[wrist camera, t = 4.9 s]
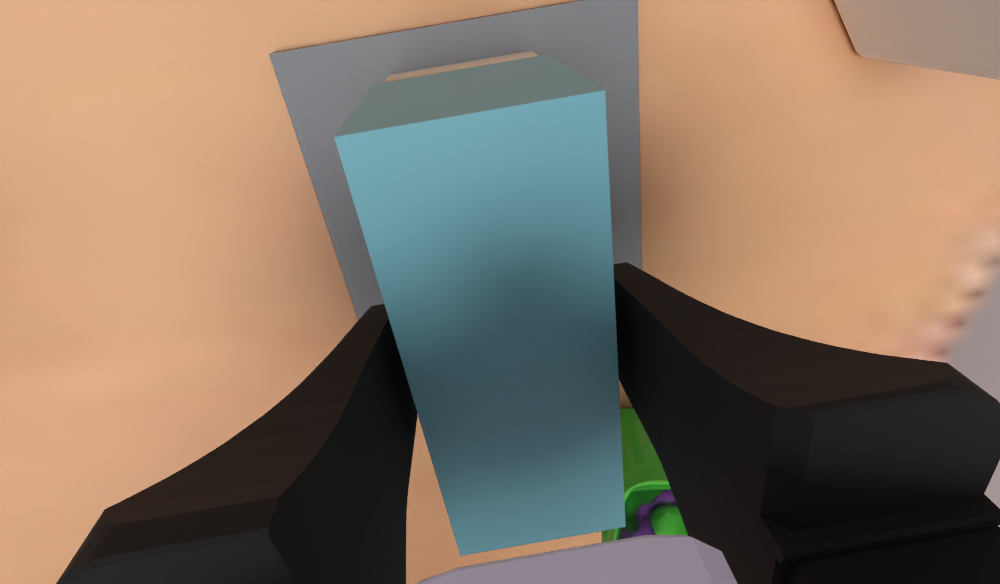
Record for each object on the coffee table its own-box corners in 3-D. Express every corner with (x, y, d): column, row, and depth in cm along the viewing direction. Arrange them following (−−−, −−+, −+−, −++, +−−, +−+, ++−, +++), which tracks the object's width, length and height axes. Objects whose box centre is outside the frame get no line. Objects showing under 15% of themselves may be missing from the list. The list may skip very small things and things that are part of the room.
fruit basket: (570, 510, 25) (647, 837, 16) (594, 360, 21) (721, 681, 11) (795, 500, 27) (1000, 798, 17) (862, 355, 22) (1190, 643, 12)
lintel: (580, 390, 17) (625, 526, 13) (456, 412, 17) (460, 555, 13) (548, 54, 12) (605, 90, 8) (374, 83, 12) (334, 136, 8)
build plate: (638, 342, 21) (642, 349, 20) (384, 386, 21) (383, 394, 20) (631, -9, 15) (637, -9, 14) (274, 51, 15) (269, 54, 14)
